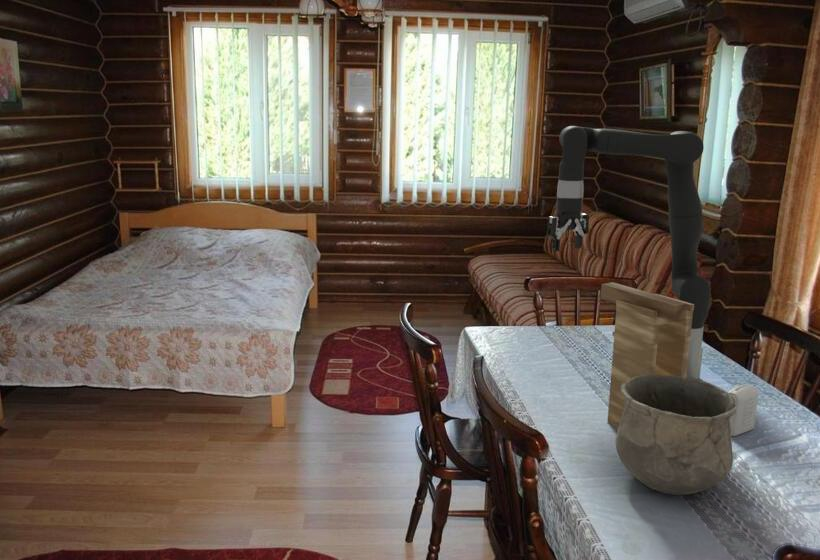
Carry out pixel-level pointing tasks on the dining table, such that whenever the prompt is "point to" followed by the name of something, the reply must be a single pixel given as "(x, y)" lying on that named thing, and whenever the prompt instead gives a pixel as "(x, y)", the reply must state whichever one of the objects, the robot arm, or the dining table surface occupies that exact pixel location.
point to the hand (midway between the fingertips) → (566, 249)
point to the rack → (645, 349)
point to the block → (645, 301)
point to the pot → (675, 433)
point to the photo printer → (744, 408)
